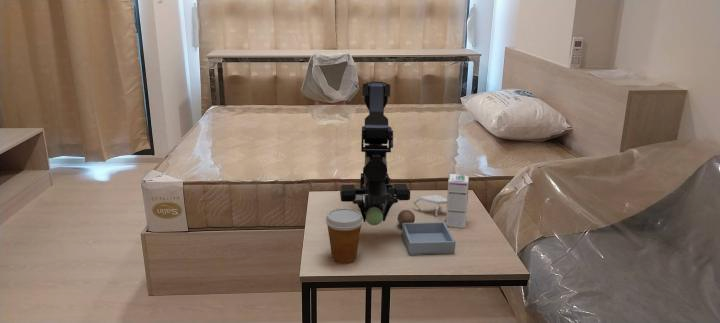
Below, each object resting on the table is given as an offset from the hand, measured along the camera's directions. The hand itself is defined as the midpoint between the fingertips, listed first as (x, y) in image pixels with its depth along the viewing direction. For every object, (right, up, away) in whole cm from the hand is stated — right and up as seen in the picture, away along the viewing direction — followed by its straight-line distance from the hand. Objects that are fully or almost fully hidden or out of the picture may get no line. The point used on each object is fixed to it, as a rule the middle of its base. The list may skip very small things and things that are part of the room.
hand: (374, 220), depth 148 cm
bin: (+14, -6, -3) cm, 16 cm away
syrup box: (+24, -2, +10) cm, 26 cm away
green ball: (0, -1, 0) cm, 1 cm away
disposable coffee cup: (-8, -8, -10) cm, 16 cm away
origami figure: (+19, +1, +17) cm, 25 cm away
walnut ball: (+9, -2, +7) cm, 12 cm away
